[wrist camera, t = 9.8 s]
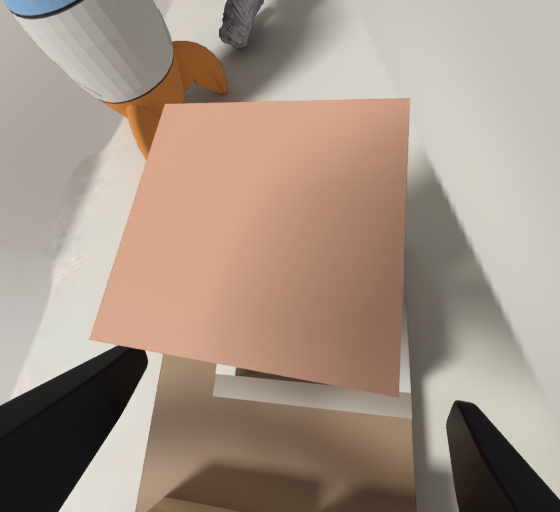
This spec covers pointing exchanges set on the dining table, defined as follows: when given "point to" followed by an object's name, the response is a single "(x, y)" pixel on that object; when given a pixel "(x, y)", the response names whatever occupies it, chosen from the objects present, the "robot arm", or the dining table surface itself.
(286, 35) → the dining table surface
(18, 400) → the robot arm
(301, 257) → the post
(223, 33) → the seashell
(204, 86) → the toy rocket
